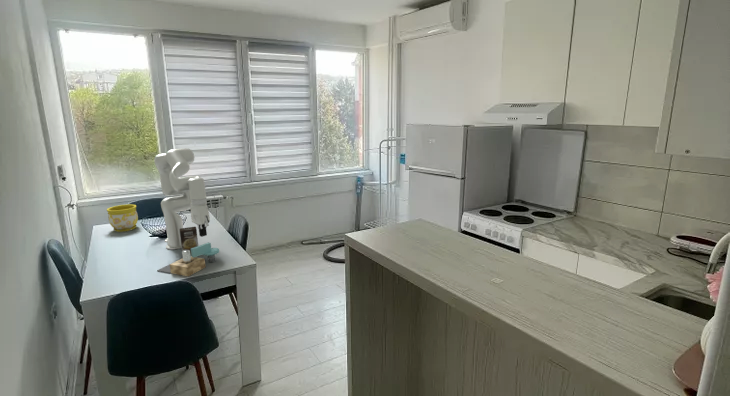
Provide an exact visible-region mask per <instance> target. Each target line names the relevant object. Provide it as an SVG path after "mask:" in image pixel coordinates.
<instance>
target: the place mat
mask: <svg viewBox="0 0 730 396" xmlns="http://www.w3.org/2000/svg"><path fill="white" fill-rule="evenodd" d="M170 264H171V263H170ZM170 264H168V265H166V266H163V267H162V268H161V267H160V268H159V269H157V272H159V273H165V274H172V273H171V271H170Z"/></svg>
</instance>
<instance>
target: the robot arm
mask: <svg viewBox="0 0 730 396" xmlns="http://www.w3.org/2000/svg"><path fill="white" fill-rule="evenodd" d="M153 160H154V166H155V167H156V170H157V171H158V174H159V178H160V186H161V192H162V194H163V195H164V196H165V198H163V199H162V200H161V201H160V207H161V211H162V213H163V217H164V222H165V229H166V234H167V235H166V236H167V238H166V239H165V240H164V243H166V245H165V248H166V249H167V250H179V249H182V246H181V238H180V230H179V229H181V228H184V222H183V218H182V216H181V215H180V214H178V213H179V212H184V211H189V210H190V217H191V222H192V223H193V224H195V225H197V226H196V227H197V229H198V233H199V237H206V236H207V234H208V232H207V227H209V226H210V225H209V223H210V221H211V220H210V212H209V208H208V205H207V204H208V202H207V201H208V200H207V193H206V185H205V184H206V183H205V179H204V178H202V177H201V176H199V175H190V176H184V175H186V174H187V173H188V172H189V171H190V169H191V168H190V167H191V166H190V165H191V164H193V163H194V161H195V153H194V152H193V150H192V149H190V148H187V147H186V148H174V149H170V150H168V151H167V152H166V153H161V154H156V156H155V157H154V159H153Z"/></svg>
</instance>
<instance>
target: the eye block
mask: <svg viewBox="0 0 730 396" xmlns="http://www.w3.org/2000/svg"><path fill="white" fill-rule="evenodd" d="M205 259H206V258H202V257H198V256H197V257H194V258H193V257H192V256H191V262H190V263H188V264H184V262H183V257H182V258H180V259H178V260H176V261H174V262H172V263H170V271H171V273H170V274H173V275H179V276H183V277H184V276H185V277H191V276H192V275H194V274H196V273H197V272H199V271H202V270H203V269H205V268H206V261H205Z"/></svg>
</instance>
